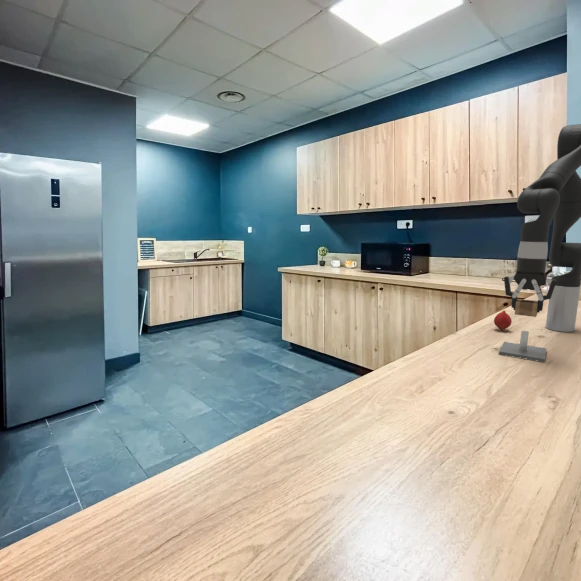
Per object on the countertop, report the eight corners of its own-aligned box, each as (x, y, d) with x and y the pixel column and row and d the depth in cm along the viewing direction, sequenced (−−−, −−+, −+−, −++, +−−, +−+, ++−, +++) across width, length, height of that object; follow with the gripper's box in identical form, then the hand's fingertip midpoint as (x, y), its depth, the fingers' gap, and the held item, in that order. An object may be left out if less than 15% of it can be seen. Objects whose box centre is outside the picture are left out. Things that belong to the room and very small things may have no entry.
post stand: (503, 344, 129) (505, 324, 127) (546, 351, 122) (548, 330, 121) (498, 354, 119) (500, 332, 118) (544, 362, 112) (547, 339, 111)
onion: (489, 329, 147) (491, 309, 146) (499, 327, 149) (501, 307, 148) (503, 333, 142) (505, 312, 140) (513, 331, 144) (516, 310, 143)
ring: (516, 311, 122) (517, 299, 122) (537, 313, 119) (538, 301, 118) (514, 314, 118) (515, 301, 117) (535, 316, 114) (537, 304, 114)
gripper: (561, 257, 114) (554, 311, 117) (506, 254, 123) (501, 306, 125) (560, 258, 108) (553, 316, 111) (503, 256, 117) (498, 310, 119)
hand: (526, 310), depth 118 cm, fingers closed on ring, 5 cm apart
